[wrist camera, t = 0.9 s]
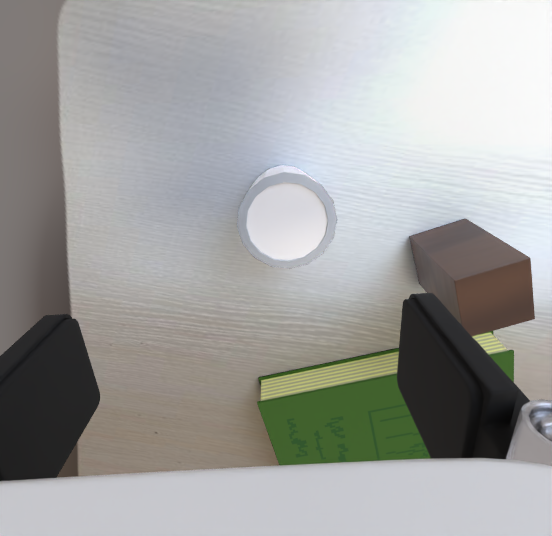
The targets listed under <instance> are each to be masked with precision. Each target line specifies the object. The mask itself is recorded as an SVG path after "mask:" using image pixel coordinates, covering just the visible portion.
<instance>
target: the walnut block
mask: <svg viewBox="0 0 552 536" xmlns="http://www.w3.org/2000/svg"><path fill="white" fill-rule="evenodd" d="M410 242H411V246H412V251H413V256H414V261H415V265H416V270H417V275H418V279H419V283H420V285H421V286H422V287H423V288H424V290H425V291H426V292H427V293H433V294H434V295H435V296H436V297H437V298H438V299H439V300H440V301H441V303H442V304H443V305H444V306H445V307H446V308H447V309H448V310H449V312H450V313H451V314H452V315H453V316H454V317H455V318H456V319H457V321H458V322H459V323H460V324H461V325H462V326H463V327H464V328H465V330H466V331H467V332H468V333H469V334H470V335H471V336H475V335H479V334H483V333H486V332H490V331H493V330H497V329H500V328H504V327H508V326H511V325H515V324H518V323H522V322H525V321H529V320H533V319H535V316H534V302H533V288H532V274H531V261H530V257H528V256H526V255H525V254H523V253H521V252H520V251H518V250H516V249H515V248H513V247H511V246H510V245H508V244H507V243H505V242H503V241H502V240H500V239H498V238H497V237H495V236H493V235H492V234H490V233H488V232H487V231H485V230H484V229H482V228H480V227H479V226H477V225H475V224H474V223H472V222H470V221H469V220H467V219H463V220H459V221H456V222H453V223H450V224H447V225H444V226H441V227H437V228H434V229H431V230H428V231H425V232H422V233H419V234H416V235H412V236H410Z"/></svg>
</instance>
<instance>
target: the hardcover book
mask: <svg viewBox="0 0 552 536" xmlns="http://www.w3.org/2000/svg"><path fill="white" fill-rule="evenodd" d="M472 337H473V338H474V339H475V340H476V341H477V342H478V343H479V344H480V346H481V347H482V348H483V349H484V350H485V351H486V352H487V353H488V354H489V356H490V357H491V358H492V359H493V360H494V361H495V362H496V363H497V365H498V366H499V367H500V368H501V369H502V370H503V371H504V372H505V374H506V375H507V376H508V377H509V378H510V379H511V380H512V381H513V383H514V351H513V350H507V349H506V348H505V347H504V346H503V345H502V344H501V343H500V342H499V341H498V340H497V339H496V338H495V337H494V335H493V331H490V332H486V333H483V334H479V335H475V336H472ZM398 356H399V348H396V349H391V350H387V351H382V352H377V353H372V354H368V355H363V356H358V357H353V358H349V359H344V360H339V361H334V362H330V363H325V364H320V365H315V366H311V367H306V368H301V369H296V370H292V371H287V372H282V373H277V374H272V375H268V376H263V377H259V378H258V379H259V382H260V385H261V401H258V402H257V404H258V407H259V410H260V412H261V415H262V418H263V421H264V424H265V426H266V429H267V432H268V435H269V437H270V440H271V443H272V446H273V448H274V451H275V454H276V457H277V460H278V462H279V465H300V464H321V463H342V462H362V461H384V460H407V459H431V457H430V455H429V453H428V451H427V449H426V446H425V444H424V442H423V440H422V438H421V436H420V433H419V431H418V429H417V427H416V425H415V423H414V420H413V418H412V416H411V414H410V412H409V410H408V407H407V405H406V403H405V401H404V399H403V397H402V394H401V392H400V390H399V387H398V383H397V368H398Z"/></svg>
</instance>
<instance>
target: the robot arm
mask: <svg viewBox="0 0 552 536" xmlns="http://www.w3.org/2000/svg"><path fill="white" fill-rule="evenodd" d="M397 383H398V387H399V390H400V392H401V394H402V397H403V399H404V401H405V403H406V405H407V407H408V410H409V412H410V414H411V416H412V418H413V420H414V423H415V425H416V427H417V429H418V431H419V433H420V436H421V438H422V440H423V442H424V444H425V446H426V449H427V451H428V453H429V455H430V457H431V459H407V460H384V461H362V462H342V463H321V464H300V465H279V466H258V467H239V468H221V469H202V470H183V471H165V472H147V473H129V474H112V475H95V476H78V477H62V478H56V477H57V475H58V474H59V472H60V470H61V469H62V467H63V465H64V463H65V462H66V460H67V458H68V457H69V455H70V453H71V451H72V450H73V448H74V446H75V445H76V443H77V441H78V439H79V438H80V436H81V434H82V433H83V431H84V429H85V427H86V426H87V424H88V422H89V421H90V419H91V417H92V415H93V414H94V412H95V410H96V409H97V407H98V405H99V401H100V392H99V389H98V385H97V382H96V379H95V376H94V372H93V369H92V366H91V363H90V359H89V356H88V353H87V350H86V346H85V343H84V340H83V337H82V333H81V330H80V327H79V324H78V321H77V320H76V319H72V317H71V316H70V315H68V314H62V315H46V316H44V317H43V318H42V319H41V320H40V321H38V322H37V323H36V324H35V325H34V326H33V327H32V328H31V329H30V330H29V331H27V332H26V333H25V334H24V335H23V336H22V337H21V338H20V339H19V340H18V341H16V342H15V343H14V344H13V345H12V346H11V347H10V348H9V349H8V350H7V351H5V352H4V354H2V355H1V356H0V536H552V400H534V401H530V400H529V399H528V398H527V397H526V396H525V395H524V394H523V393H522V391H521V390H520V389H519V388H518V387H517V386H516V385H515V384H514V383H513V381H512V380H511V379H510V378H509V377H508V376H507V375H506V374H505V372H504V371H503V370H502V369H501V368H500V367H499V366H498V365H497V363H496V362H495V361H494V360H493V359H492V358H491V357H490V356H489V354H488V353H487V352H486V351H485V350H484V349H483V348H482V347H481V346H480V344H479V343H478V342H477V341H476V340H475V339H474V338H473V337H472V336H471V335H470V334H469V333H468V332H467V331H466V330H465V328H464V327H463V326H462V325H461V324H460V323H459V322H458V321H457V319H456V318H455V317H454V316H453V315H452V314H451V313H450V312H449V310H448V309H447V308H446V307H445V306H444V305H443V304H442V303H441V301H440V300H439V299H438V298H437V297H436V296H435V295H434V294H433V293H422V294H411V295H410V298H409V299H405V300H404V302H403V309H402V320H401V332H400V344H399V356H398V368H397Z"/></svg>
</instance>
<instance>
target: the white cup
mask: <svg viewBox="0 0 552 536" xmlns="http://www.w3.org/2000/svg"><path fill="white" fill-rule="evenodd" d="M336 223H337V216H336V211H335V207H334V202H333V200H332V198H331V197H330V196H329V194H328V193H327V191H326V190H325V189H324V187H323V186H322V185H321V184H320V183H319V182H317V181H316V180H314V179H313V178H312V177H310V176H309V175H308V174H306V173H305V172H303V171H301V170H300V169H298V168H296V167H293V166H285V165H280V166H277V167H273V168H270V169H268V170H267V171H265V172H264V173H263V174H262V175H260V176H259V177H258V178H257V180H256V181H255V182H254V183H253V185H252V186H251V187H250V189H249V190H248V191H247V193H246V195H245V197H244V199H243V201H242V203H241V204H240V206H239V210H238V222H237V228H238V231H239V234H240V237H241V240H242V243H243V245H244V246H245V247H246V248H247V250H248V251H249V252H250V253H251V254H252V255H253V256H254V258H256V259H258V260H260V261H261V262H263V263H265V264H267V265H269V266H271V267H279V268H289V269H290V268H294V267H298V266H302V265H306V264H309V263H310V262H312V261H313V260H314V259H316V258H317V257H319V256H320V255H322V254H323V253H324V251H325V250H326V248H327V247H328V245H329V244H330V242H331V241H332V239H333V238H334V233H335V228H336Z"/></svg>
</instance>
